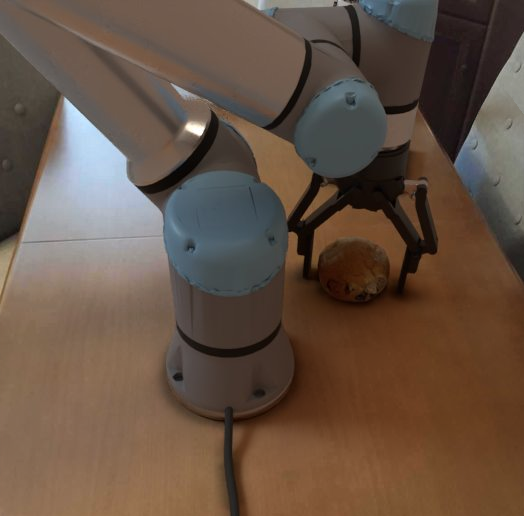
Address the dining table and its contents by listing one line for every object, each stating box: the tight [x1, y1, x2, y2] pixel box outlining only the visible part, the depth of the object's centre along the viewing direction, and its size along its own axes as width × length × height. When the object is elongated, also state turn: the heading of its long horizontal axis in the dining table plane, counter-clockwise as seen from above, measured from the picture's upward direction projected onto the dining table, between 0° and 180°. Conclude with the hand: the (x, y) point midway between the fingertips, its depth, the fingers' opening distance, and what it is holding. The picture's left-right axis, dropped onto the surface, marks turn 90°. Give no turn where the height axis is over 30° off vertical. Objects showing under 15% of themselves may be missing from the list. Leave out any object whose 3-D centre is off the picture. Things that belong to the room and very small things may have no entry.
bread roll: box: [317, 236, 391, 303], centre depth 82 cm, size 10×10×8 cm
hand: (352, 280), depth 83 cm, fingers open, 12 cm apart
